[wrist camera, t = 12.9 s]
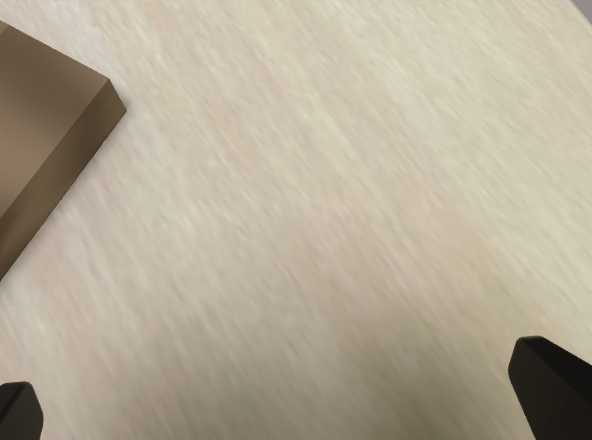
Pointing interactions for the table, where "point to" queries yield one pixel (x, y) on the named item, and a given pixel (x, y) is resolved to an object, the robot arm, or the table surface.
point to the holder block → (44, 132)
